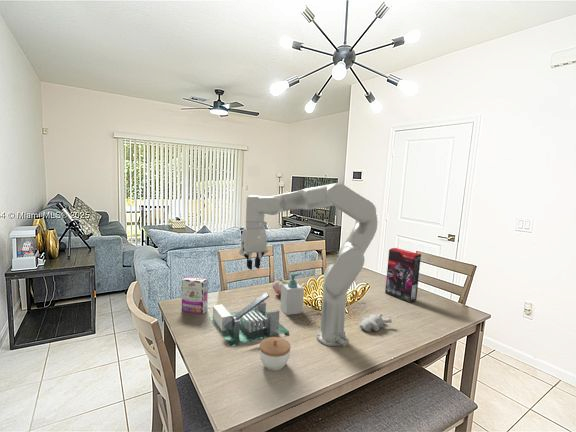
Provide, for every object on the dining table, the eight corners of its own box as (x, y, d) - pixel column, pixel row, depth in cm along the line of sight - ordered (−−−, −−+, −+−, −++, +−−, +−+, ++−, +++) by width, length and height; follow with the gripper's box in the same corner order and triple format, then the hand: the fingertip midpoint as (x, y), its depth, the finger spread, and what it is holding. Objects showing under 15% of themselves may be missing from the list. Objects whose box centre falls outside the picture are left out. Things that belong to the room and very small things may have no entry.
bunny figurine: (354, 318, 137) (377, 308, 145) (355, 328, 138) (377, 318, 146) (370, 327, 129) (394, 316, 137) (370, 338, 130) (394, 326, 138)
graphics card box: (383, 293, 181) (388, 248, 177) (390, 291, 185) (395, 247, 181) (410, 303, 167) (415, 255, 164) (417, 300, 171) (422, 253, 168)
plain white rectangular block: (231, 328, 128) (231, 315, 127) (221, 331, 126) (222, 317, 125) (221, 316, 139) (221, 304, 138) (212, 318, 136) (212, 305, 136)
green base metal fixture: (289, 333, 128) (290, 309, 127) (230, 349, 115) (231, 322, 113) (260, 308, 151) (261, 287, 150) (209, 319, 138) (209, 296, 136)
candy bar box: (207, 311, 145) (208, 278, 143) (202, 316, 140) (203, 282, 138) (187, 308, 148) (187, 275, 146) (181, 312, 143) (181, 279, 141)
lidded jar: (288, 356, 112) (290, 332, 111) (289, 375, 101) (291, 349, 100) (259, 356, 112) (260, 332, 110) (257, 374, 101) (258, 348, 100)
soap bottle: (303, 313, 149) (305, 275, 146) (286, 315, 146) (288, 276, 143) (296, 305, 157) (298, 270, 154) (280, 307, 154) (281, 271, 151)
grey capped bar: (270, 298, 128) (268, 294, 128) (226, 330, 120) (224, 326, 119) (266, 295, 131) (264, 291, 131) (223, 326, 123) (221, 322, 122)
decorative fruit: (291, 295, 171) (292, 277, 170) (284, 299, 164) (284, 281, 163) (278, 291, 176) (279, 274, 174) (269, 295, 169) (270, 278, 168)
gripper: (268, 223, 133) (266, 263, 135) (232, 224, 124) (231, 267, 127) (276, 225, 126) (274, 268, 129) (240, 227, 118) (238, 273, 120)
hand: (253, 267), depth 128 cm, fingers open, 2 cm apart
